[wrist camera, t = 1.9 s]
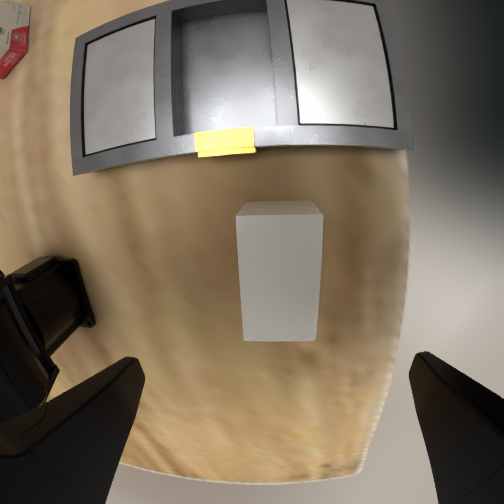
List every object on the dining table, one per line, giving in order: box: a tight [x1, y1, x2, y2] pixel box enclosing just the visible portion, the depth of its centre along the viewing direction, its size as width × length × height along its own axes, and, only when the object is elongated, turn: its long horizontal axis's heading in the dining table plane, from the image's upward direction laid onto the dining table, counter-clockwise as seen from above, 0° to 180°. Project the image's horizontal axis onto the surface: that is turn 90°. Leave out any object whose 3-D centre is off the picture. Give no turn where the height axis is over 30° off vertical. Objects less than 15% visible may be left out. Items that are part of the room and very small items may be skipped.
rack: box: [70, 0, 414, 176], centre depth 13 cm, size 11×20×3 cm, turn 94°
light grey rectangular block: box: [236, 201, 323, 342], centre depth 15 cm, size 7×4×4 cm, turn 2°
